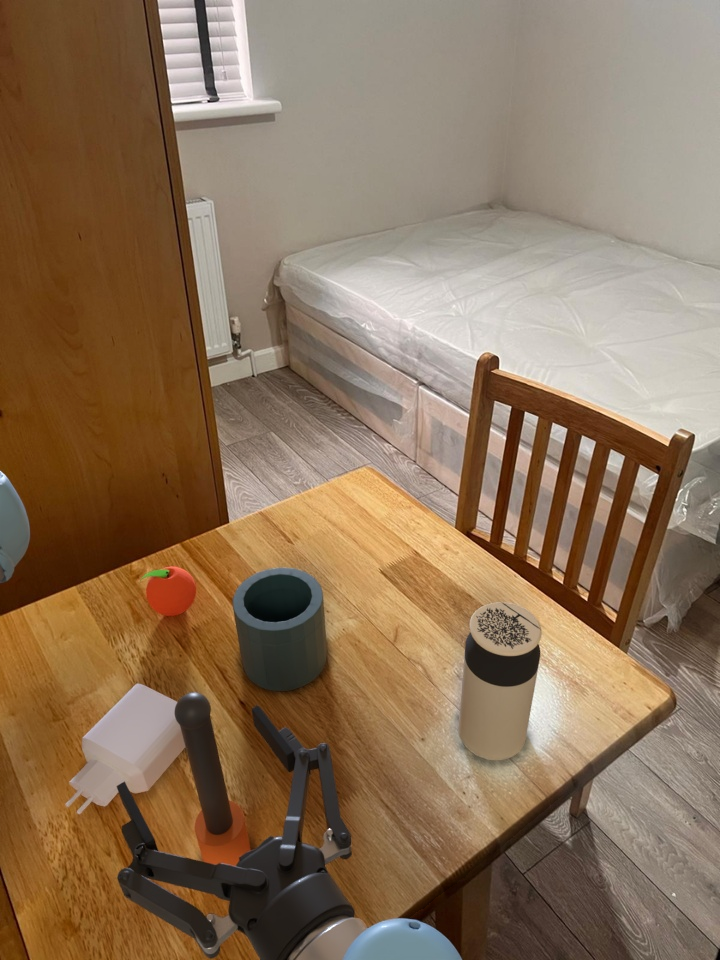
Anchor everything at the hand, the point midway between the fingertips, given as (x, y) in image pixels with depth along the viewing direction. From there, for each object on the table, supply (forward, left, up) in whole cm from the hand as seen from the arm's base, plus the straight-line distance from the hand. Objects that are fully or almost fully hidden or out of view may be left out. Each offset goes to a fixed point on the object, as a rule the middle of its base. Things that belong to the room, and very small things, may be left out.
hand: (192, 751), depth 69 cm
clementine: (+17, +32, -15) cm, 39 cm away
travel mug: (+31, -14, -15) cm, 37 cm away
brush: (0, -3, -15) cm, 15 cm away
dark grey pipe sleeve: (+22, +13, -15) cm, 29 cm away
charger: (-2, +14, -15) cm, 21 cm away
